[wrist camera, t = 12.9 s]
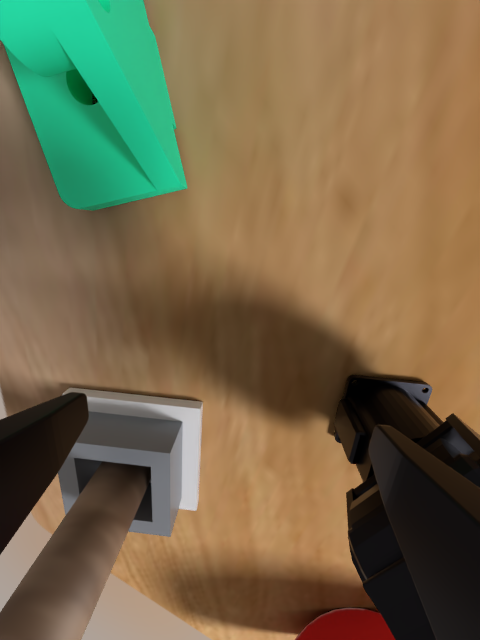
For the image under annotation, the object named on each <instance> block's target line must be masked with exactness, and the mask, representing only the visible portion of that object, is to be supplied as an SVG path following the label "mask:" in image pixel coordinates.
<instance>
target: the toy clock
mask: <svg viewBox="0 0 480 640" xmlns="http://www.w3.org/2000/svg"><path fill="white" fill-rule="evenodd" d="M295 640H395V638H394V636H393V635H392V633H391V631H390V629H389V627H388V626H387V624H386V622H385V620H384V619H383V617H382V615H381V613H377V612H374V611H370V610H367V609H360V608H343V609H336V610H332V611H330V612H328V613H325V614H323V615H320V616H319V617H318V618H316V619H315V620H313V621H312V622H311V623H309V624H308V625H307V626H306V627H305V628H304V629H303V630H302V632H301V633H300V634H299V635H298V636H297V637H296V639H295Z"/></svg>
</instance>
